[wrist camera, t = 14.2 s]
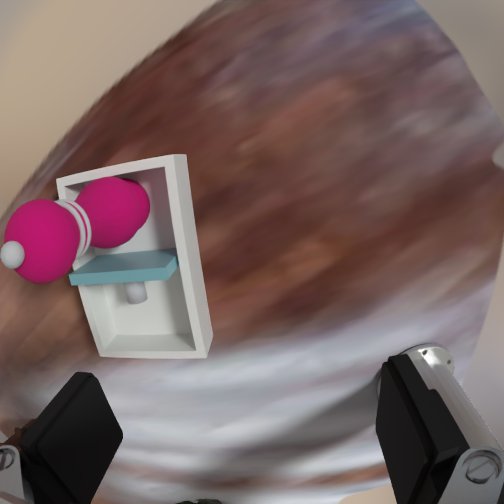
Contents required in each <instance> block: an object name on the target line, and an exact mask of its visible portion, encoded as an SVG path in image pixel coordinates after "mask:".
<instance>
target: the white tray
mask: <svg viewBox="0 0 504 504" xmlns="http://www.w3.org/2000/svg"><path fill="white" fill-rule="evenodd" d="M102 177H117V178H120V179H122V178H127V179H132V180H135V181H136V182H138V183H139V184H141V185H142V186H143V187H144V189H145V190H146V192H147V194H148V196H149V200H150V213H149V216H148V219H147V221H146V223H145V224H144V225H143V226H142V227H141V228H140V229H138V231H137V232H136V234H135V235H134V236H133V237H132V238H131V239H130V240H129V241H128V242H126V243H125V244H122V245H120V246H118V247H115V248H108V249H102V248H97V247H93V246H89V248H88V249H87V251H86V252H85V254H84V255H83V256H82V257H80V258H78V259H77V260H75V261H74V263H73V269H74V271H75V270H76V269H78V268H79V267H81V266H82V265H84V264H85V263H87V262H88V261H90V260H92V259H93V258H95V257H96V256H98V255H108V254H118V253H128V252H139V251H149V250H159V249H170V248H177V254H178V260H179V266H178V267H177V269H176V270H175V271H174V272H173V274H172V275H171V276H170V278H169V279H168V280H156V281H144V283H145V288H146V292H147V297H148V299H147V300H146V301H145V302H143V303H140V304H128V302H127V299H126V295H125V291H124V286H123V283H108V284H91V285H78V288H79V292H80V295H81V299H82V302H83V306H84V309H85V312H86V316H87V319H88V322H89V325H90V328H91V331H92V334H93V337H94V340H95V343H96V346H97V349H98V352H99V354H100V357H121V358H165V359H180V358H207V355H208V352H209V348H210V345H211V341H212V338H213V332H212V327H211V321H210V315H209V310H208V304H207V298H206V292H205V286H204V280H203V273H202V267H201V261H200V254H199V248H198V241H197V234H196V227H195V220H194V213H193V205H192V198H191V190H190V182H189V174H188V166H187V157H186V155H182V154H173V155H167V156H161V157H155V158H150V159H144V160H139V161H133V162H128V163H123V164H118V165H114V166H109V167H104V168H100V169H95V170H91V171H87V172H82V173H78V174H74V175H70V176H66V177H62V178H58V179H56V181H57V188H58V194H59V200H61V199H69V200H72V201H75V200H76V198H77V196H78V195H79V193H80V192H81V191H82V189H83V188H84V187H86V186H87V185H88V184H89V183H90V182H92V181H94V180H96V179H99V178H102Z"/></svg>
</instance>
